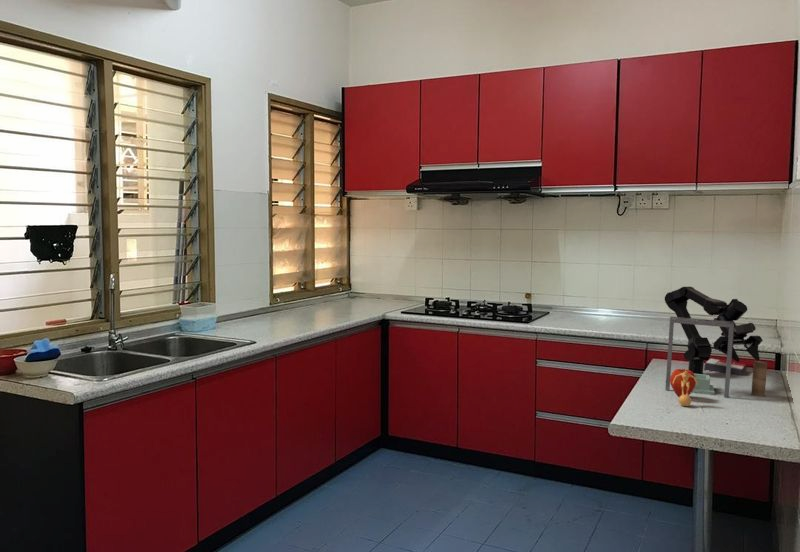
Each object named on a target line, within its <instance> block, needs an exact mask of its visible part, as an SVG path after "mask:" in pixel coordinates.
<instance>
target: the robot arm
mask: <svg viewBox="0 0 800 552" xmlns="http://www.w3.org/2000/svg"><path fill="white" fill-rule="evenodd" d="M690 300H691V301H693V302H694V303H696V304H698V305H699V306H701V307H702V308H703V310H704V312H705V313H707V314H708V315H709V316H717V317H713V320H720V321H733V323H734V331H733V345H732V358H731V360H734V361H735V362H736V363H739V362H741V361H740V357H739V355H738V354H737V352H736V350H735V348H734V346H744V348H745V349H746V350H745V351H746V352H748V354H749V355H750V356H751V357H752V358H753V359H754V361H761V360H760V354H759V345H760V344H761V343H762V342H763V339H762V336H761V335H757V334H756V335H750V336H748V334H750V333H754V331H756V330H757V329H756V326H755V324H754V323H753V322H748V323H742V324H741V323H740V324H736V323H735V322H736V321H739V319H741V318H742V316H744V314H746V313H747V312H748V306H747V305H746V304H745V303H743V302H742V301H739V299H738V298H732V299H731V300H730V301H729V303H727V302H726V301H725V300H720V299H716V298H712V297H709V296H708V295H706V294H704V293H703V292H701V291H699V290H697V289H695V288H694V287H693V286H682V287H680V288H678V289H675V290H672V291H670V292H667V293H666V295H665V296H664V303H665V304H666V305H667V307H668V309H670V311H672V312H674V313H675V315H676V317H682V318H692V317H691V314H690V313H689V310H688V308H687V307H688V301H690ZM679 324H680V325H681V328H682V330H683V332H684V334H685V336H686V338H687V341H688V342H687V350H686V351H685V352H684V353H683V358H684V360H687V361H688V366H687V370H689V371H692V372H693V373H694V374H703V375H706V374H705V373H704V366H705V363H704V362H707V361H708V360H709V359H711V358H710V357H711V354H712V351H713V350H712V346H713V348H714V350H715V351H719V352H720V353H723V354H724V355H726V356H727V350H728V336H729V327H719V330H721V333H720V335H721V336H719V337H718V338H717V339H716V340H715V341H714V342H713V345H712V344H711V343H710V340H709V338H708V337H702V336H701V335H700V333H699V331H698V329H697V326H696V325H695V324H682V323H679ZM747 336H748V337H747ZM746 337H747V338H746ZM745 338H746V339H745Z"/></svg>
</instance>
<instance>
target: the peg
mask: <svg viewBox="0 0 800 552" xmlns="http://www.w3.org/2000/svg"><path fill="white" fill-rule="evenodd" d="M767 372H768V362H765V361H761V360H759V361H756V360H754V361H753V367H752V379H751V381H752V383H751V393H750V395H751V396H753V397H757V396H758V397H759V398H764V396H765V397H766V383H767V374H768V373H767Z"/></svg>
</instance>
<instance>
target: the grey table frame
mask: <svg viewBox="0 0 800 552" xmlns="http://www.w3.org/2000/svg"><path fill="white" fill-rule="evenodd" d="M733 321H734V320H733ZM733 321H720V320H714V319H706V318H693V317H691V318H682V317H677V316H670V318H669V329H668V342H667V343H668V346H667V360H666V376H665V377H666V378H665V391H668V390H669V391H670V388H671V387H670V385H671V384H670V377H671V375H672V371H671V370H672V360H673V359H672V357H673V355H672V354H673V342H674V341H673V340H674V327H675V326H674V325H675V324H680V323H682V324H695V326H696V325H697V326H707V327H708V326H709V327H719V328H720V327H729V336H728V350H727V355H726V361H727V364H726V373H725V380H724V395H723V397H724V398H725V399H726V398H727V399H730V397H729V396H730V385H731V374H730V372H731V362H732V345H733V331H734V323H733ZM733 346H734V345H733Z"/></svg>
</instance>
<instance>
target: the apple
mask: <svg viewBox="0 0 800 552" xmlns="http://www.w3.org/2000/svg"><path fill="white" fill-rule="evenodd" d="M685 371H687V372H688V374H690V375H692V376H694V377H695V375H694V373H693V372H692V371H689V370H688V369H685V368H682V369H681V368H679V369H677V368H676V369H674V370H673V371H672V372H671V375H670V385H671V388H672V390H673V392H674V393H675V395H676V396H677V397H678V398H679V397H680V396H681V395H682V386H681V381H683V377H682V376H678V377H676V379H675V381H674V384H672V383H673V380H674V378H675V376H676V375H679V374H681V373H683V372H685ZM688 381H689V382H690V383H689V386H690V387H689V390H688V396H689V397H690V394H692V393H693V392H692V391H693V389H694V387H695V384H696V381H695V379H694V378H692V377H689V378H688ZM688 381H687V382H688ZM683 388H684V390H683V391H684V395H686V392H687V389H688V388H687V386H686V384H685V386H684V387H683Z"/></svg>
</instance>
